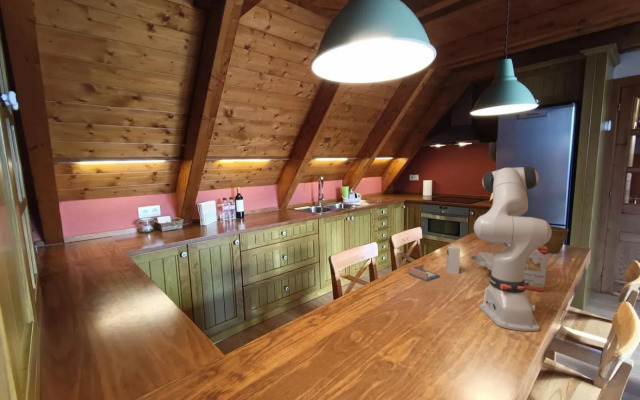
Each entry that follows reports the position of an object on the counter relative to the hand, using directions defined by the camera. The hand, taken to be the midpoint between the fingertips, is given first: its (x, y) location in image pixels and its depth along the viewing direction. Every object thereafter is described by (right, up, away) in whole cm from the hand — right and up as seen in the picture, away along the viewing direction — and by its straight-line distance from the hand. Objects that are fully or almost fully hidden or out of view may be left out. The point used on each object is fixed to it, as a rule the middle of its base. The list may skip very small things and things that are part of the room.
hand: (473, 259), depth 160 cm
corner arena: (-27, -8, -1) cm, 28 cm away
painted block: (-10, -7, +3) cm, 13 cm away
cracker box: (+16, -10, -17) cm, 25 cm away
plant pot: (+71, -2, +37) cm, 80 cm away
